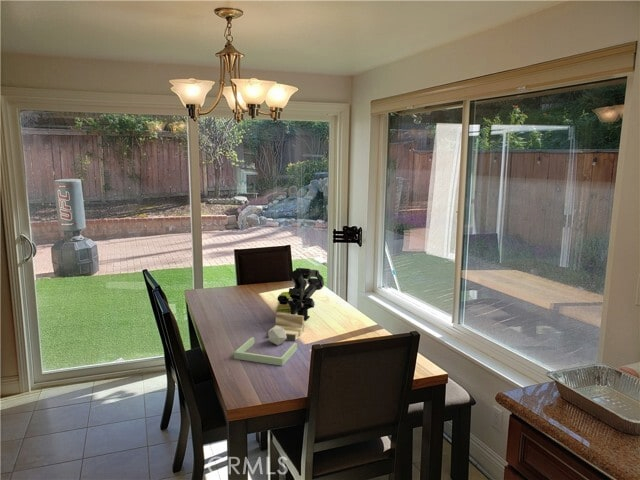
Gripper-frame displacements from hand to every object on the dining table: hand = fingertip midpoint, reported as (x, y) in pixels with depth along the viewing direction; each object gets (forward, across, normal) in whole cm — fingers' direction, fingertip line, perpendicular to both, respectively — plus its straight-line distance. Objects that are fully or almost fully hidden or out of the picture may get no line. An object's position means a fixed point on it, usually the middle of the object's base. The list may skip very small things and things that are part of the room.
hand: (291, 316), depth 238 cm
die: (+19, 0, -9) cm, 21 cm away
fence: (+27, 0, -18) cm, 33 cm away
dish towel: (-23, -15, +34) cm, 43 cm away
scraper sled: (+10, 0, -1) cm, 10 cm away
